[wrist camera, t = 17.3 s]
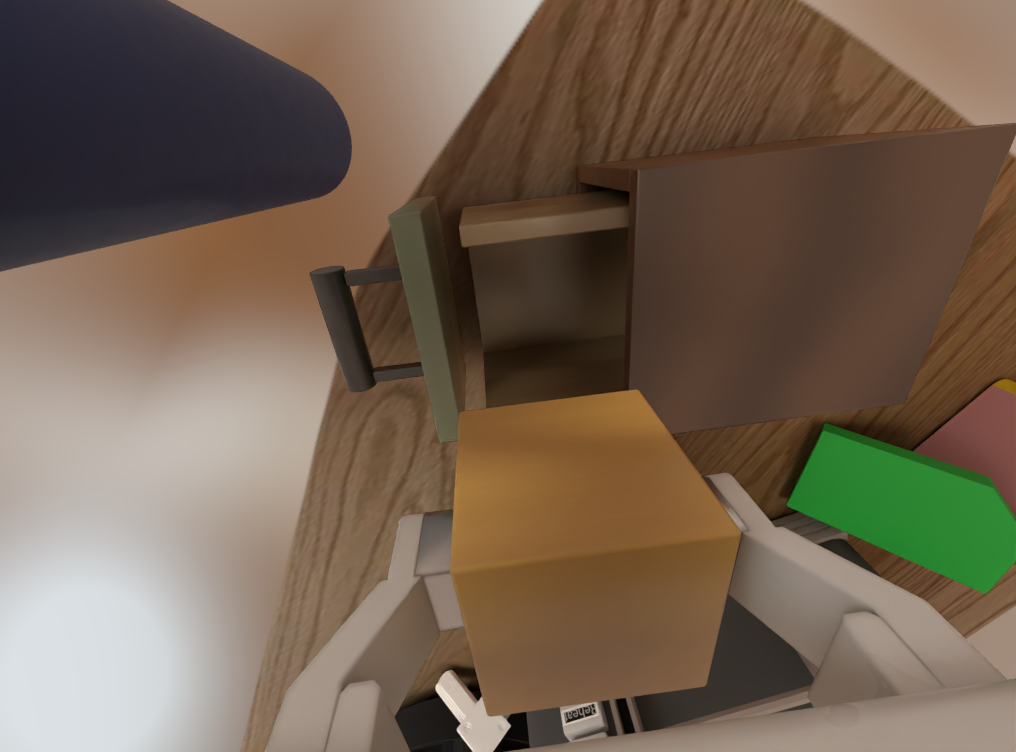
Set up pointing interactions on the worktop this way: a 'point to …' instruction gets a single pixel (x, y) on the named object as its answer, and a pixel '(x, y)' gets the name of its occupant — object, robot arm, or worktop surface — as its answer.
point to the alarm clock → (982, 439)
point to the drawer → (500, 301)
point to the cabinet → (794, 268)
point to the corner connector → (471, 715)
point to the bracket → (909, 506)
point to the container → (451, 728)
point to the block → (585, 553)
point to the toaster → (710, 673)
